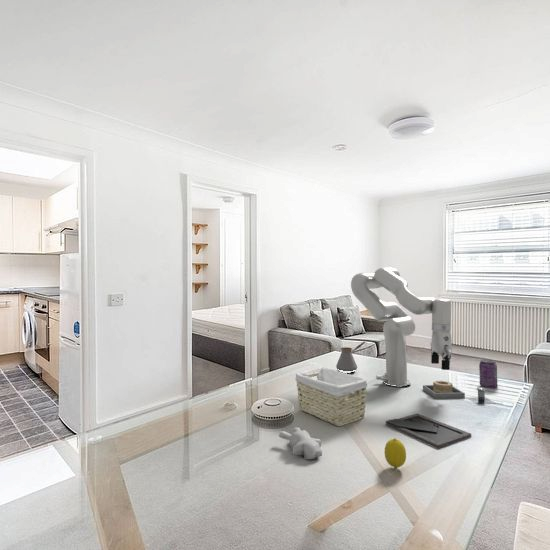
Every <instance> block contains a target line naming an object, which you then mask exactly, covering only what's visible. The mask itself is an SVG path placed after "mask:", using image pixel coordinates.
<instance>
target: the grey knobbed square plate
mask: <svg viewBox="0 0 550 550" xmlns="http://www.w3.org/2000/svg"><path fill="white" fill-rule="evenodd" d="M476 390H477V397H467V400H470V401H471V402H473V403H475V404H476V405H497V404H498V403H497V402H495V401H494V400H492V399H490V398H488V397H486V396H485V395H486V393H485V391H486V387H483V386H479V387H476Z"/></svg>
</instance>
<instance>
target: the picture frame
mask: <svg viewBox="0 0 550 550" xmlns="http://www.w3.org/2000/svg"><path fill="white" fill-rule="evenodd" d="M385 426H386V427H390V428H392V429H394V430H396V431H398V432H400V433H403V434H405V435H406V436H409V437H410V438H414V439H416V440H418V441H419V442H422V443H425V444H427V445H428V446H429V445H430V446H431V447H433V448H436V449H441V448H444V447H447V446H450V445H453V444H455V443H458V442H460V441H464V440H467V439H469V438H472V433H470V432H468V431H466V430H463V429H459V428H458V427H454V426H452V425H449V424H447V423H444V422H441V421H438V420H436V419H434V418H430V417H428V416H425V415H423V414H420V413H413V414H411V415H407V416H404V417H400V418H393V419H388V420H385Z"/></svg>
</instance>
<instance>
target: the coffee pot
mask: <svg viewBox="0 0 550 550" xmlns="http://www.w3.org/2000/svg"><path fill="white" fill-rule="evenodd" d="M367 344H368V343H367V342H366V341H363V342H361V343H360V344H359V345H357V346H356V347H355V348H354V349H353V348H352V347H345V346H344V347H340V351H341V352H340V354H339V355H340V356H339V359H338V361H337V362H336V365H335V367H336V369H337V370H338V369H339V370H343V371H353V370H356V371H357V369H358V364H357V363H356V360H355V358H354V356H353V353H354V352H355V351H356V350H358V349H359V348H361V347H362V346H363V345H367ZM339 370H338V371H339Z"/></svg>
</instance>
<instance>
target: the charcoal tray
mask: <svg viewBox="0 0 550 550" xmlns="http://www.w3.org/2000/svg"><path fill="white" fill-rule="evenodd" d="M422 390H423V391H424V392H425V393H426V394H428V395H429V396H431V397H432V398H433V399H440V400H441V399H465V398H466V395H465V394H466V393H465V392H463V391H462V390H460V389H458V388H457V387H455V386H453V385H452V391H453V393H435V392H434V391H433V384H423V385H422Z"/></svg>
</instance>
